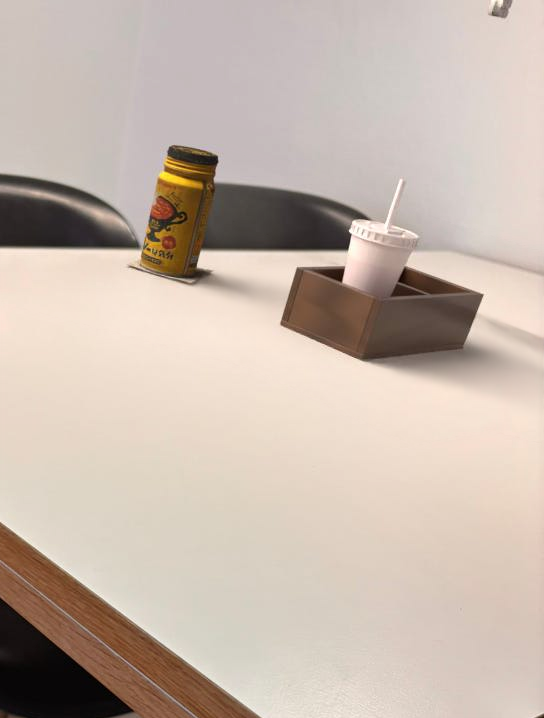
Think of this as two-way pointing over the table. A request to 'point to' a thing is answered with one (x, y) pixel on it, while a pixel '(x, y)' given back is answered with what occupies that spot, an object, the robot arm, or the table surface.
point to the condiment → (179, 215)
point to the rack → (380, 313)
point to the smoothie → (378, 252)
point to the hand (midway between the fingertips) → (536, 24)
